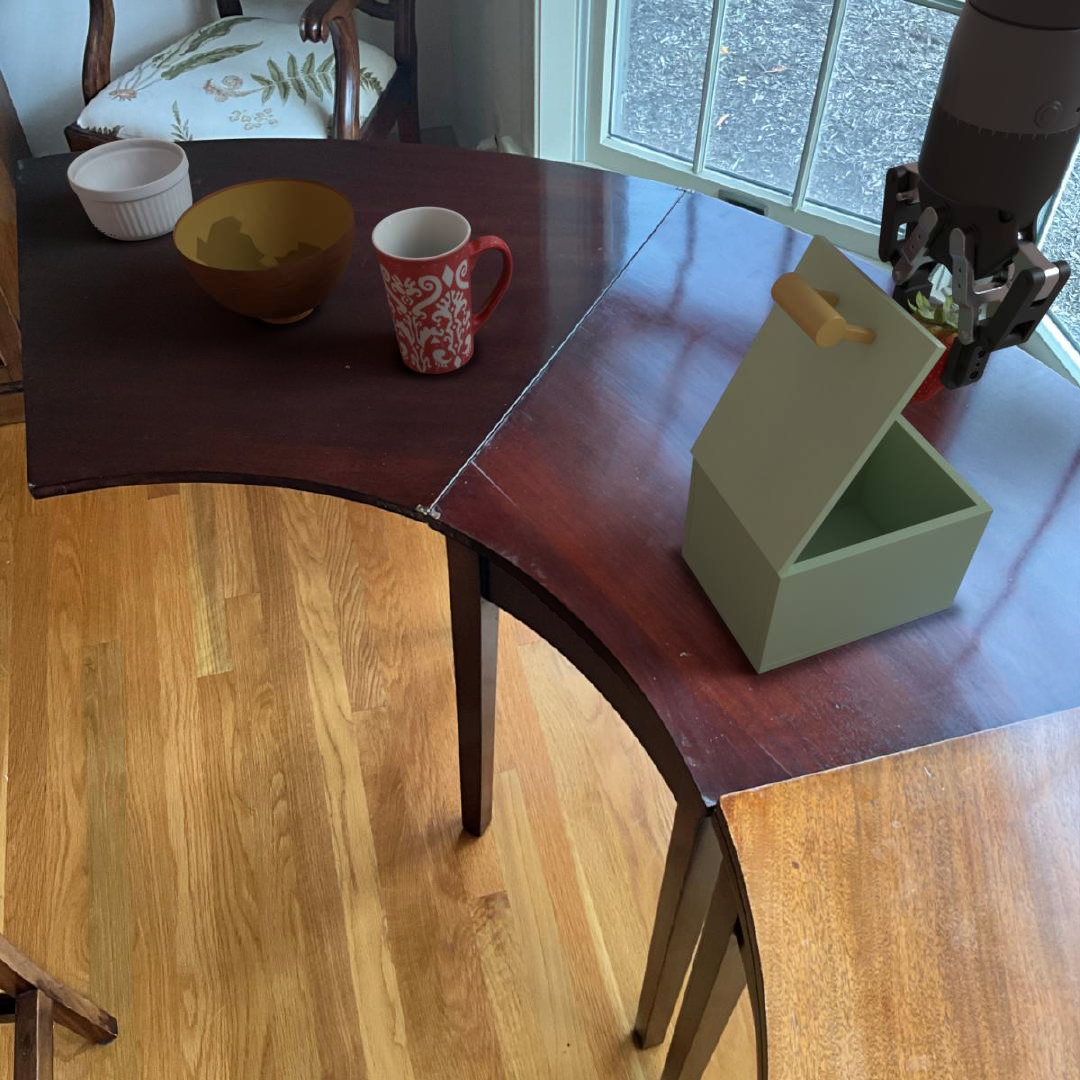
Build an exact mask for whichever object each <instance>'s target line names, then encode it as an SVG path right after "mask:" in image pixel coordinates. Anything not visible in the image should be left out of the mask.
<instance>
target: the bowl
mask: <svg viewBox="0 0 1080 1080" xmlns="http://www.w3.org/2000/svg"><path fill="white" fill-rule="evenodd" d="M355 223H356V221H355V214H354V209H353V206H352V203H351V202H350V200H349V199H348V197H347V196H346V195H345V194H344V193H343V192H341V191H340V190H338V189H336V188H334V187H333V186H331V185H328V184H326V183H322V182H319V181H316V180H312V179H307V178H306V179H305V178H295V177H273V178H261V179H256V180H249V181H245V182H241V183H237V184H233V185H229V186H227V187H223V188H222V189H219V190H217V191H213V192H212V193H210V194H207V195H206V196H204V197H202V198H200V199H198V200H197V201H196V202H194V203H192V206H190V207H189V208H188V209H187V210H186V211H185V212H184V213H183V214H182V215H181V216H180V218H179V219H178V220H177V222H176V224H175V227H174V230H173V231H172V240H173V244H174V247H175V250H176V252H177V254H178V257H179V259H180V260H181V263H182V264H183V266H184V267H185V269H186V270H187V272H188V273H189V274H190V277H191V278H192V279H193V280H194V281H195V282H196V284H198V286H200V287H201V289H202V290H203V291H204V292H206V294H208V295H209V296H210V297H211V298H213V299H214V300H215V301H216V302H217V303H219V304H221V305H222V306H224V307H225V308H227V309H229V310H230V311H233V312H235V313H237V314H239V315H242V316H247V317H250V318H254V319H260V320H262V321H264V322H266V323H269V324H275V325H284V324H290V323H291V324H292V323H295V322H298V321H300V320H302V319H304V318H305V317H307V316H308V315H310V314H311V313H312V311H313V310H314V308H316V307H318V306H319V305H321V304H322V303H323V302H324V301H326V300H328V298H329V297H330V296H332V295H333V293H335V291H336V289H337V288H338V286H339V285H340V283H341V282H342V280H343V278H344V276H345V274H346V272H347V271H348V270H347V269H348V266H349V264H350V260H351V258H352V254H353V250H354V245H355V237H356V224H355Z"/></svg>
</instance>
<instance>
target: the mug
mask: <svg viewBox="0 0 1080 1080" xmlns="http://www.w3.org/2000/svg"><path fill="white" fill-rule="evenodd" d="M471 235H472V228H471V225H470V223H469V222H468V220H467V219H466V218H465V216H463V215H462V214H461V213H459V212H456V211H455V210H451V209H448V208H445V207H437V206H420V207H412V208H407V209H403V210H399V211H397V212H394V213H392V214H390V215H388V216H386V217H384V218H382V220H381V221H379V222H378V223H377V224H376V225H375V226H374V228H373V229H372V233H371V243H372V245H373V248H374V249H375V251H376V255H377V260H378V263H379V267H380V272H381V277H382V280H383V284H384V288H385V294H386V297H387V301H388V305H389V310H390V314H391V318H392V323H393V326H394V330H395V331H394V332H395V334H396V339H397V343H398V347H399V353H400V355H401V359H402V361H403V363H404V364H405V365H406V366H407V368H409V369H410V370H413V371H415V372H418V373H421V374H426V375H439V374H440V375H441V374H447V373H450V372H453V371H455V370H457V369H459V368H461V367H463V366H465V365H466V364H467V363H468V362H469V361H470V360H471V358H472V357H473V355H474V349H475V343H474V337H475V335H476V333H478V331H479V330H480V329H481V327H482V326H483V325H484V324H485V323H486V322H487V320H488V319H489V318H490V316H492V314H493V312H494V311H495V310H496V309H497V307H498V305H500V302H501V301H502V300H503V297H504V296H505V294H506V292H507V290H508V288H509V285H510V283H511V280H512V276H513V268H514V262H513V255H512V252H511V250H510V248H509V246H508V244H507V243H506V242H505V241H504V240H503V239H502V238H500V237H498V236H496V235H483V236H480V237H478V238H476V239H474V240H472V241H470V239H471ZM489 250H496V251H499V252H500V253H501V255H502V269H501V273H500V275H499V278H498V280H497V282H496V283H495V286H494V287H493V289H492V290H491V292H490V294H489V295H488V296H487V298H486V299H485V301H484V302H483V304H482V305H480V307H479V308H478V309H477V310H476V311H475V312H473V305H472V304H473V302H472V301H473V300H472V278H471V277H472V276H471V272H472V271H473V270H474V269H475V267H476V264H477V262H478V260H479V258H480V256H481V255H482V254H484V253H485V252H487V251H489Z"/></svg>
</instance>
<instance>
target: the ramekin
mask: <svg viewBox="0 0 1080 1080" xmlns="http://www.w3.org/2000/svg"><path fill="white" fill-rule="evenodd" d="M189 167H190V165H189V160H188V156H187V154H186V152H185V149H183V148H182V146H181V145H179V144H177V143H175V142H173V141H170V140H166V139H162V138H157V137H156V138H155V137H133V138H124V139H119V140H115V141H110V142H106V143H103V144H100V145H98V146H95V147H93V148H91V149H88V150H86V151H85V152H83V153H82V154H80V155H78V156H77V157H76V158H75V159H74V160H73V161H72V162H71V163H70V164H69V166H68V167H67V171H66V176H67V180H68V182H69V186H70V187H71V189H72V190H73V192H74V193H75V194H76V195H77V197H78V199H79V201H80V203H81V205H82V207H83V209H84V211H85V213H86V214H87V216H88V218H89V220H90V222H91V224H92V225H93V224H94V225H93V226H94V227H95V228H96V227H97V228H98V229H97V228H96V229H97V230H98V231H100V230H101V231H100V233H103V232H105V233H103V234H104V235H105V236H107V237H110V238H112V239H114V240H120V241H144V240H149V239H155V238H158V237H161V236H164V235H166V234H169V233H171V232H173V230H174V227H175V224H176V222H177V220H178V219H179V218H180V216H181V215H182V214H183V213H184V212H185V211H186V210H187V209H188V208H189V207H190V206H192V205H193V195H192V193H193V192H192V187H191V182H190V174H189ZM110 234H112V235H110ZM114 235H116V236H114Z"/></svg>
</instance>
